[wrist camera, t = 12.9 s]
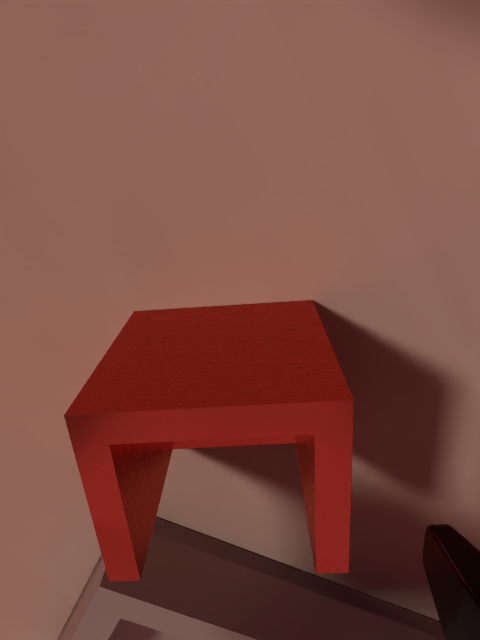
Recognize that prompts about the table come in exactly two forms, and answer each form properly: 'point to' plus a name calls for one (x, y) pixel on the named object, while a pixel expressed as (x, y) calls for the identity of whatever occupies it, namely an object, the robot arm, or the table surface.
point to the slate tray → (230, 599)
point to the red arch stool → (213, 417)
